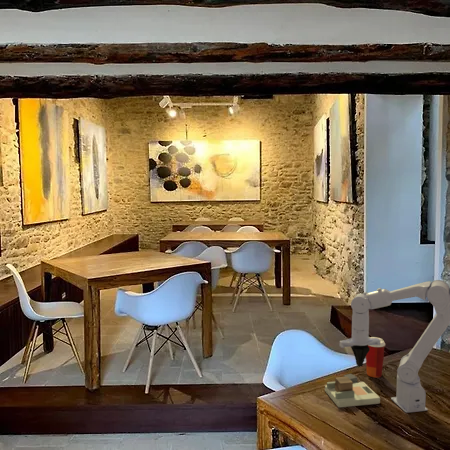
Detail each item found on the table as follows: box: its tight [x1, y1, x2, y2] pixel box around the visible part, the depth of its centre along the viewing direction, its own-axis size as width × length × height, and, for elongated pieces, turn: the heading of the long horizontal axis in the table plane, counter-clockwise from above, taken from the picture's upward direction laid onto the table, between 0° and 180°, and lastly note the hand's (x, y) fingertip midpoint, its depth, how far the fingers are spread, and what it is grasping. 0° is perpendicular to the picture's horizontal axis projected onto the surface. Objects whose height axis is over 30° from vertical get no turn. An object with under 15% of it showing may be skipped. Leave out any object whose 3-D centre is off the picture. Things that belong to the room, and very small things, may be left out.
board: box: [324, 381, 381, 408], centre depth 154 cm, size 12×15×4 cm
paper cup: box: [365, 336, 386, 379], centre depth 171 cm, size 8×8×14 cm
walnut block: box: [334, 376, 353, 392], centre depth 153 cm, size 4×4×4 cm
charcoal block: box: [343, 373, 358, 383], centre depth 163 cm, size 4×4×4 cm
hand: (359, 365), depth 155 cm, fingers closed
